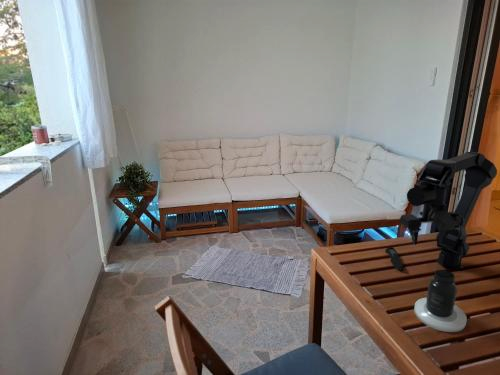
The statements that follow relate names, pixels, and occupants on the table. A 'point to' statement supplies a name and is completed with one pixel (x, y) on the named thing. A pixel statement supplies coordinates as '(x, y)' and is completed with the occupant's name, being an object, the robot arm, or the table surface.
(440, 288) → the supplement bottle
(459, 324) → the saucer
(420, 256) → the table surface
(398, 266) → the electric trimmer
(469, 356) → the table surface
